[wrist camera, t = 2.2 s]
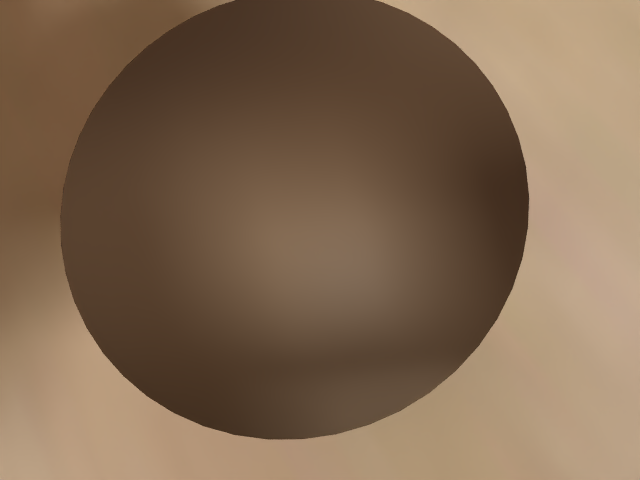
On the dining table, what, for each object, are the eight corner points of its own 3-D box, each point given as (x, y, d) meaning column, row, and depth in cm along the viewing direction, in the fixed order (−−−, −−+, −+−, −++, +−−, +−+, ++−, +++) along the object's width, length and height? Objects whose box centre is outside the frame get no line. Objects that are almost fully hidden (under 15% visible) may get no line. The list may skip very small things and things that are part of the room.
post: (410, 443, 17) (457, 517, 6) (230, 381, 18) (-15, 346, 7) (460, 260, 18) (576, 42, 7) (289, 212, 19) (161, -47, 8)
